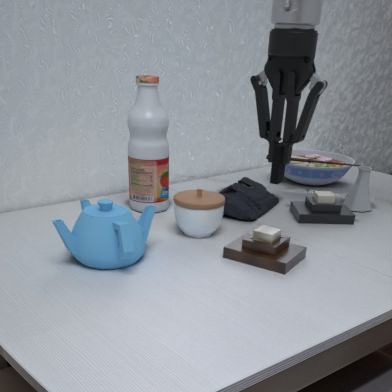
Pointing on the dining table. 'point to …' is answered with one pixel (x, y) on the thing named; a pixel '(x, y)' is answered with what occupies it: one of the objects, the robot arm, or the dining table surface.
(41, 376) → the dining table surface
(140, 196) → the fruit juice
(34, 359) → the dining table surface
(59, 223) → the teapot
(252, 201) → the dark slate chunk
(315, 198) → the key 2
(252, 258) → the block
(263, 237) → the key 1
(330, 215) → the block
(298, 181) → the ramen bowl
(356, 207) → the flask
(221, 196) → the trinket box
